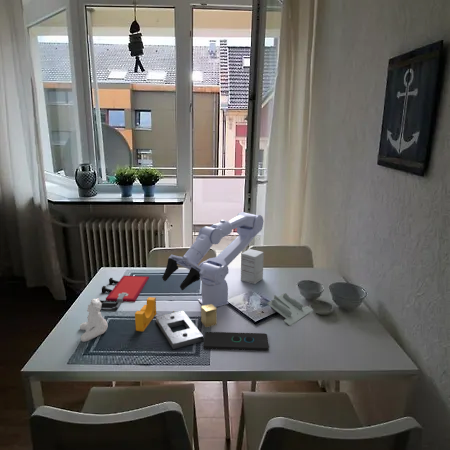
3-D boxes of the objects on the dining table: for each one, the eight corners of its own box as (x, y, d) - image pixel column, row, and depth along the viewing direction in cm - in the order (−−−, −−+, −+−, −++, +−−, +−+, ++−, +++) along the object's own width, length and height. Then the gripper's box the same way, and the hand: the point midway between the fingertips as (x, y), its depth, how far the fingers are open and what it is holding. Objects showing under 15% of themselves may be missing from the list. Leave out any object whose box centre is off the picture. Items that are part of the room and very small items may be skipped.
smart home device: (269, 347, 112) (203, 345, 113) (268, 352, 113) (203, 350, 113) (267, 332, 120) (205, 330, 121) (266, 337, 121) (205, 335, 121)
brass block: (211, 319, 131) (211, 303, 129) (216, 324, 127) (216, 308, 125) (201, 321, 129) (201, 306, 127) (205, 327, 125) (205, 311, 124)
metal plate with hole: (183, 315, 133) (183, 309, 132) (203, 340, 118) (203, 335, 117) (155, 321, 129) (155, 316, 128) (173, 349, 113) (173, 343, 113)
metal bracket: (262, 299, 133) (286, 286, 144) (258, 312, 136) (282, 298, 146) (294, 324, 125) (317, 308, 136) (289, 336, 128) (312, 320, 138)
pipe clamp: (144, 312, 135) (144, 296, 133) (156, 314, 134) (155, 297, 132) (130, 330, 123) (129, 313, 121) (143, 331, 123) (142, 314, 121)
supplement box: (249, 274, 168) (249, 248, 165) (263, 278, 164) (264, 251, 161) (240, 280, 163) (240, 253, 159) (254, 284, 158) (255, 256, 155)
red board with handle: (88, 310, 136) (129, 312, 135) (88, 303, 135) (128, 305, 134) (115, 278, 165) (149, 279, 164) (115, 272, 164) (148, 273, 163)
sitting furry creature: (79, 327, 124) (76, 295, 121) (106, 322, 127) (104, 290, 124) (81, 343, 116) (77, 308, 113) (110, 337, 119) (107, 303, 116)
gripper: (176, 239, 130) (152, 269, 123) (210, 254, 123) (186, 286, 117) (181, 251, 135) (158, 280, 129) (214, 266, 129) (191, 297, 122)
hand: (172, 283), depth 123 cm, fingers open, 7 cm apart
